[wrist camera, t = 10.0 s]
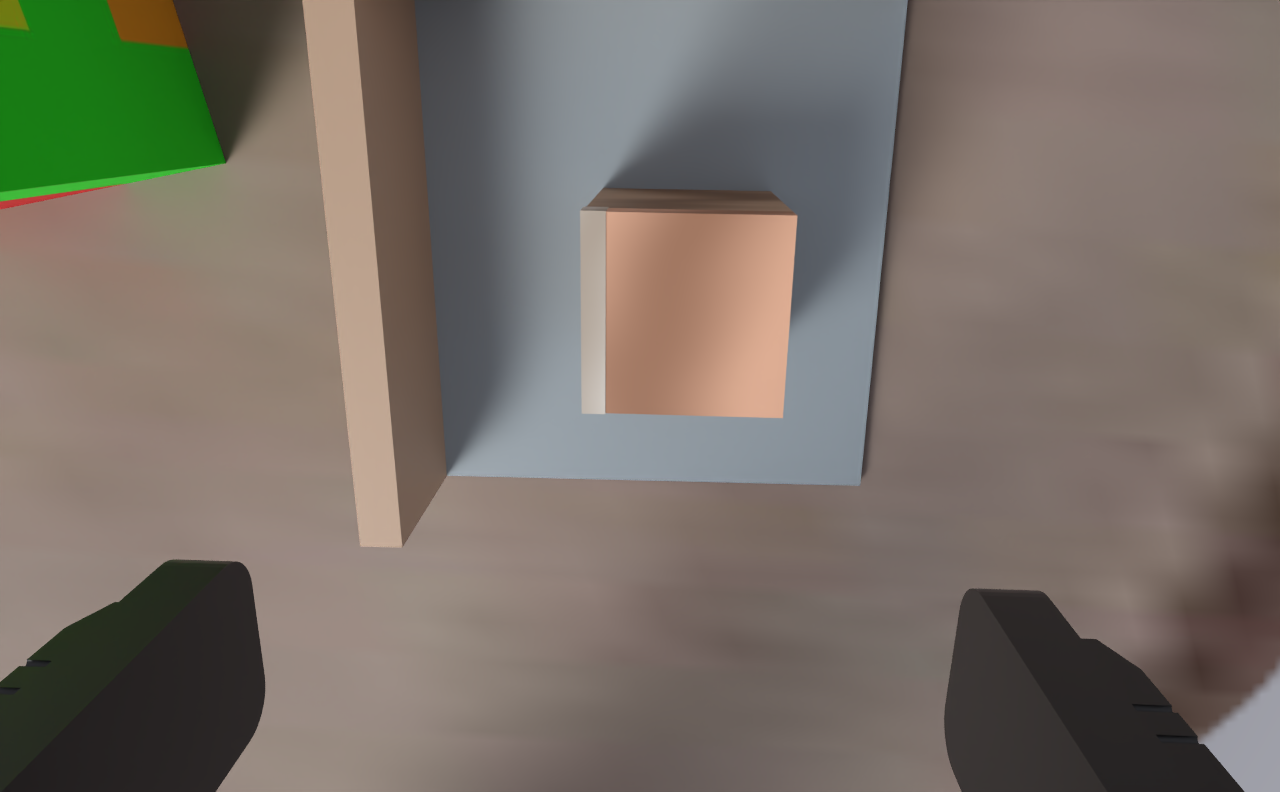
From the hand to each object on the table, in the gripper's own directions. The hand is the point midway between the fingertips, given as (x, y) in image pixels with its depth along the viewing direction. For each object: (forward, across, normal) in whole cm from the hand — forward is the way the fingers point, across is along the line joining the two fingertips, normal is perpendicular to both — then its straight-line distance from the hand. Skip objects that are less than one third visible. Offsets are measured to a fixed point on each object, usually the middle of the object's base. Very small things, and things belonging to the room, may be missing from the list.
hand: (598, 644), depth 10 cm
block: (+18, -1, -1) cm, 18 cm away
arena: (+18, 0, -2) cm, 19 cm away
